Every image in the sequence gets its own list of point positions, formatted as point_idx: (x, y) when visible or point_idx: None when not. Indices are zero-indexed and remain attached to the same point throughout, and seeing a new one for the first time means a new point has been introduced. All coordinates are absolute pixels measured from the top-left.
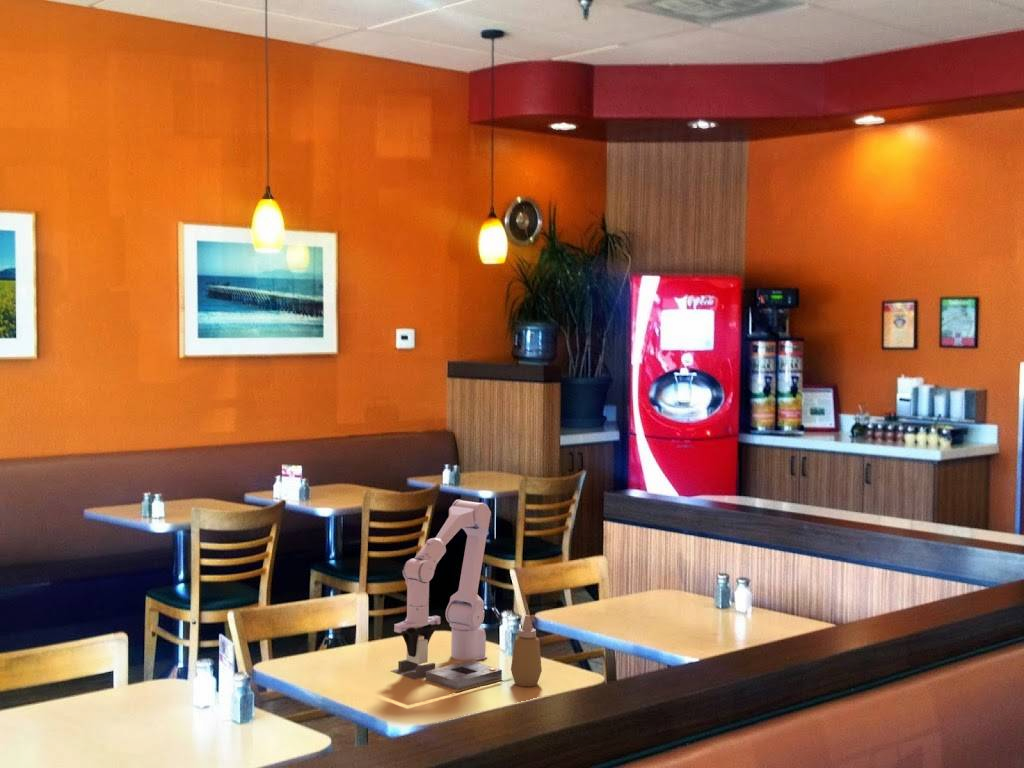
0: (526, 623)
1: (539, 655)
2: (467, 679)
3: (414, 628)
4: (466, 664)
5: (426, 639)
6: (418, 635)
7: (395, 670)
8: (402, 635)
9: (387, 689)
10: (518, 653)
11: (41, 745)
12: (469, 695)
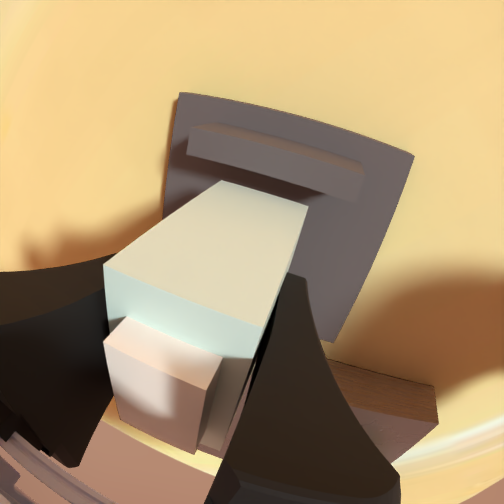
0: None
1: None
2: (210, 452)
3: (44, 462)
4: (368, 434)
5: (220, 444)
6: (84, 444)
7: (207, 108)
8: (2, 279)
9: (57, 229)
10: None
11: None
12: None
